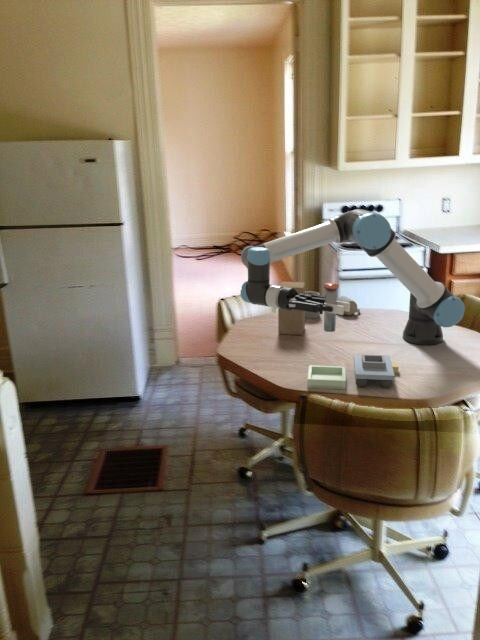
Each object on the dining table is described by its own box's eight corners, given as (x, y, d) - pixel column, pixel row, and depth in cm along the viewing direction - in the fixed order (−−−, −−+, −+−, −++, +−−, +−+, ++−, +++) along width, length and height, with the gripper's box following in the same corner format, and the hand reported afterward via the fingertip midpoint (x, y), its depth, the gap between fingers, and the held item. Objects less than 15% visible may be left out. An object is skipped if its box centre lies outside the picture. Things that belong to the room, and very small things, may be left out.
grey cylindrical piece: (310, 319, 251) (310, 297, 248) (292, 315, 258) (293, 294, 255) (328, 313, 260) (329, 292, 257) (311, 309, 267) (311, 288, 264)
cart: (396, 369, 195) (398, 350, 193) (402, 390, 178) (404, 370, 176) (353, 367, 197) (353, 348, 195) (355, 388, 180) (355, 368, 178)
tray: (344, 374, 191) (345, 366, 190) (345, 389, 180) (345, 380, 179) (308, 373, 193) (309, 365, 192) (307, 387, 182) (307, 379, 181)
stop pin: (336, 328, 183) (338, 283, 178) (336, 332, 179) (338, 286, 174) (322, 327, 184) (323, 282, 179) (322, 332, 179) (323, 286, 175)
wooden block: (302, 335, 231) (303, 287, 225) (278, 334, 233) (278, 287, 227) (304, 327, 240) (305, 282, 234) (281, 326, 242) (281, 281, 236)
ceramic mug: (344, 317, 254) (345, 300, 251) (334, 312, 261) (335, 296, 259) (364, 314, 258) (365, 298, 256) (353, 310, 265) (354, 294, 263)
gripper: (295, 303, 196) (357, 314, 183) (268, 314, 184) (333, 327, 170) (295, 282, 194) (358, 291, 181) (268, 292, 182) (333, 303, 168)
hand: (346, 308), depth 176 cm, fingers closed on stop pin, 3 cm apart
